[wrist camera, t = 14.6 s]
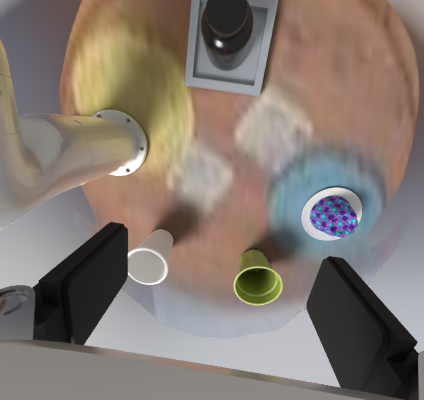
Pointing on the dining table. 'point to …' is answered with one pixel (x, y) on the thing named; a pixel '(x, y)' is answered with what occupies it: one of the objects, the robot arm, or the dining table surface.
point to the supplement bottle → (227, 32)
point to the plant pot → (256, 279)
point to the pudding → (332, 214)
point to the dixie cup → (151, 258)
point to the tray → (252, 65)
